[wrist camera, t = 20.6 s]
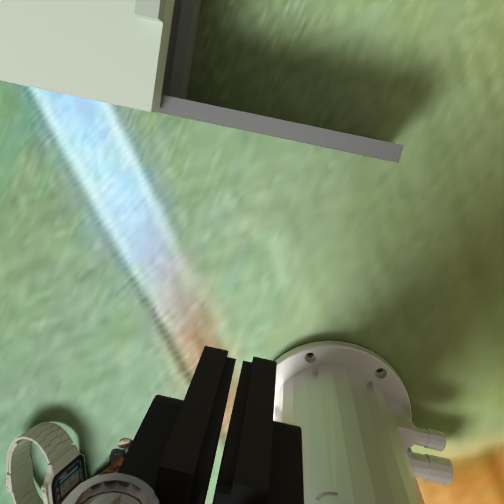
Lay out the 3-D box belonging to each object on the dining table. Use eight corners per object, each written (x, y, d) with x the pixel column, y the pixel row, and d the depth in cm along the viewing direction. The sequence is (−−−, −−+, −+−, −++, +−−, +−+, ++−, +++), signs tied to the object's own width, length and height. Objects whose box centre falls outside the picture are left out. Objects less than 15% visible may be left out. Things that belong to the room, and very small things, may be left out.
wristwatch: (94, 505, 44) (70, 552, 39) (28, 503, 44) (-4, 550, 39) (80, 417, 41) (52, 456, 36) (11, 417, 42) (-26, 455, 37)
